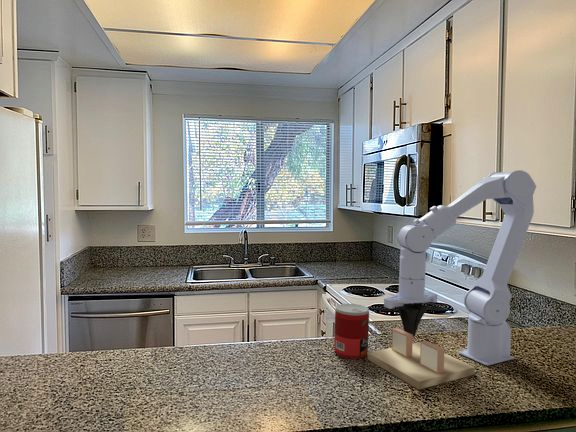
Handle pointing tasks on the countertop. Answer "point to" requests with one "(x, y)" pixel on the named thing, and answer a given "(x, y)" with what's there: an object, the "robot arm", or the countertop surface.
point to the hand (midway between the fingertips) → (409, 335)
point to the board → (419, 367)
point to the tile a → (402, 342)
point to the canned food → (351, 331)
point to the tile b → (432, 357)
